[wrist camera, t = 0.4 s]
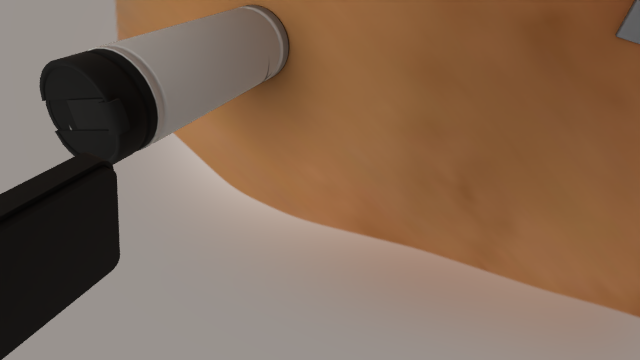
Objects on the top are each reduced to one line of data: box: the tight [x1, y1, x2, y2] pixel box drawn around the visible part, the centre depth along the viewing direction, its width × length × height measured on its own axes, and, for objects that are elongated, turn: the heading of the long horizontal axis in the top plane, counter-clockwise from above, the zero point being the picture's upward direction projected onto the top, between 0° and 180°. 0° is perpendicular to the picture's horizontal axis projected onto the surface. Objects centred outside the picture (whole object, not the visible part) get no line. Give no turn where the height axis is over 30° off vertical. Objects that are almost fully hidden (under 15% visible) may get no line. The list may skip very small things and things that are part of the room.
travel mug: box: [40, 5, 289, 165], centre depth 33 cm, size 6×7×20 cm
